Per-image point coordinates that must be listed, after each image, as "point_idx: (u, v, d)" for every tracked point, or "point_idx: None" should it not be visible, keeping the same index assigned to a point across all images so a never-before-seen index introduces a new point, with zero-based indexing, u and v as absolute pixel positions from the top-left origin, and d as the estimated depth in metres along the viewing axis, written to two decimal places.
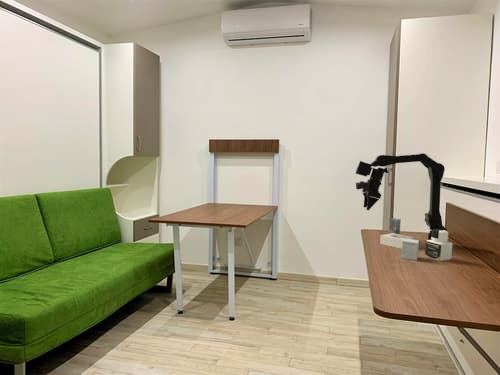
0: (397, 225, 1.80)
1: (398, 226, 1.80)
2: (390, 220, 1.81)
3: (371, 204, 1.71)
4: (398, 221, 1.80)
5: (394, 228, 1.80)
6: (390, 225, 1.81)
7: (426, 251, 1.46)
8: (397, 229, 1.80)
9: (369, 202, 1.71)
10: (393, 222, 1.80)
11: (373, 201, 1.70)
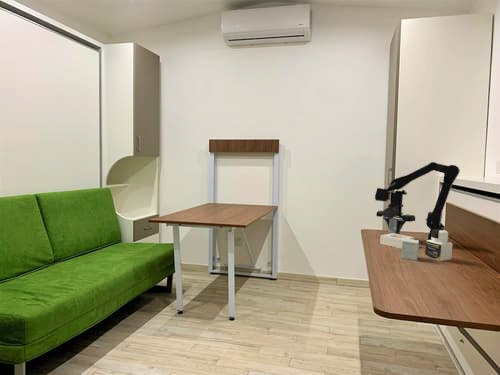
0: (397, 225, 1.80)
1: None
2: (390, 220, 1.81)
3: (401, 226, 1.79)
4: None
5: (394, 228, 1.80)
6: (390, 225, 1.81)
7: (426, 251, 1.46)
8: None
9: (400, 225, 1.79)
10: (393, 222, 1.80)
11: (402, 223, 1.79)
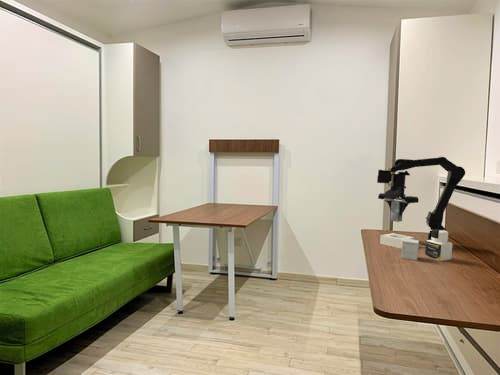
0: (399, 207, 1.73)
1: None
2: (392, 202, 1.75)
3: (404, 209, 1.73)
4: None
5: (396, 210, 1.74)
6: (392, 207, 1.75)
7: (426, 251, 1.46)
8: (399, 211, 1.74)
9: (402, 208, 1.72)
10: (396, 204, 1.74)
11: (405, 205, 1.73)
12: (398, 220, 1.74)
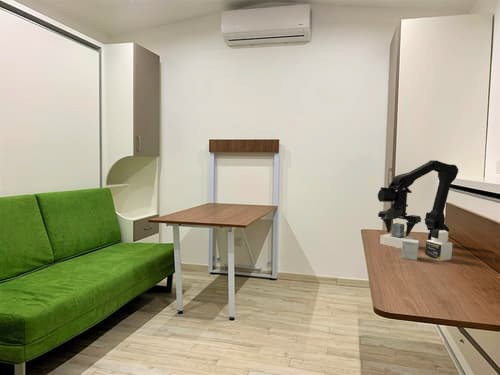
0: (401, 231, 1.65)
1: (402, 232, 1.65)
2: (393, 225, 1.66)
3: (410, 229, 1.62)
4: (402, 226, 1.65)
5: (397, 234, 1.65)
6: (393, 231, 1.66)
7: (426, 251, 1.46)
8: (401, 235, 1.65)
9: (409, 228, 1.61)
10: (397, 227, 1.65)
11: (411, 226, 1.62)
12: None
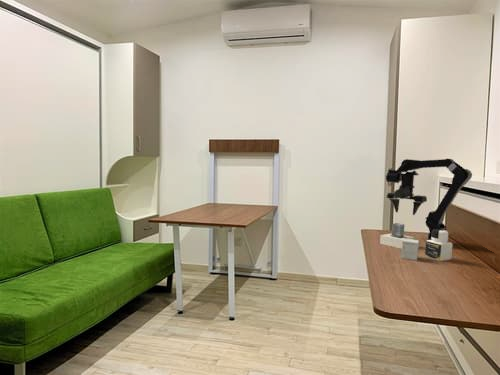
0: (401, 231, 1.65)
1: (402, 232, 1.65)
2: (393, 225, 1.66)
3: (417, 208, 1.77)
4: (402, 226, 1.65)
5: (397, 234, 1.65)
6: (393, 231, 1.66)
7: (426, 251, 1.46)
8: (401, 235, 1.65)
9: (416, 207, 1.76)
10: (397, 227, 1.65)
11: (418, 205, 1.77)
12: None
